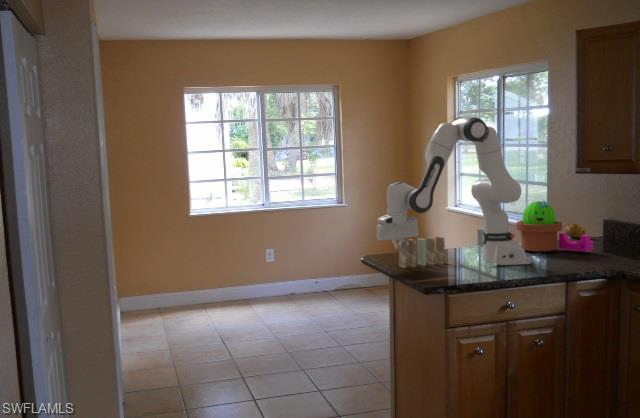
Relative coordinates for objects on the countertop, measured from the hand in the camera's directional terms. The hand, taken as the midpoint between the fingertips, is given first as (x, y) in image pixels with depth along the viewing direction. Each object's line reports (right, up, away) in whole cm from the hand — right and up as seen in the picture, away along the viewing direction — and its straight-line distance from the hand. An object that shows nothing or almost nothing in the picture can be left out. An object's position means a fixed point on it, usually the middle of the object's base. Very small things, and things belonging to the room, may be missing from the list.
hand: (398, 248), depth 300 cm
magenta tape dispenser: (+93, -3, +34) cm, 100 cm away
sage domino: (+12, -8, +5) cm, 15 cm away
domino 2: (+16, -8, +7) cm, 19 cm away
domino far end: (+2, -9, +2) cm, 9 cm away
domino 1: (+7, -8, +4) cm, 11 cm away
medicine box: (+53, -2, +55) cm, 77 cm away
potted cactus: (+76, -3, +37) cm, 85 cm away
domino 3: (+21, -7, +9) cm, 24 cm away
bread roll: (+109, +2, +76) cm, 133 cm away
